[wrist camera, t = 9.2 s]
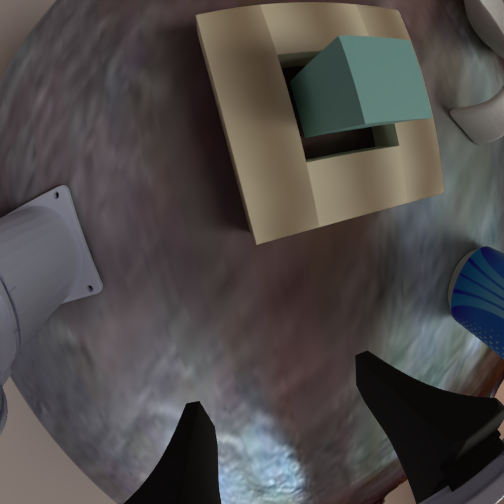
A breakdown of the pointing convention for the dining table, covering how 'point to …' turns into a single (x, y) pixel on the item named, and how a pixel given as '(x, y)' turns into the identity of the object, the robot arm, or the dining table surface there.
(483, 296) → the beer can
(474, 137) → the spoon rest
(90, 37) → the dining table surface
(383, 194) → the board
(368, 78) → the teal block
